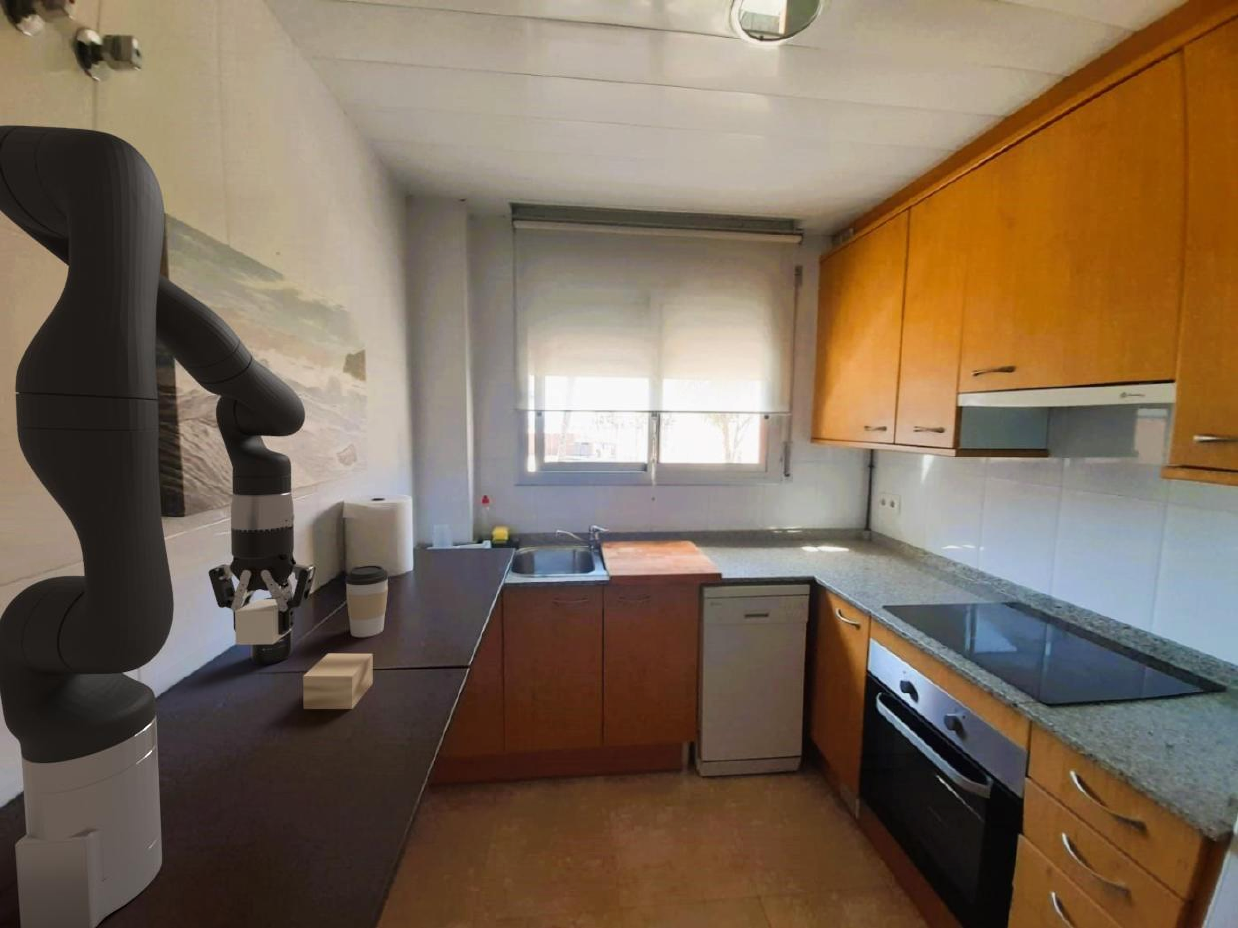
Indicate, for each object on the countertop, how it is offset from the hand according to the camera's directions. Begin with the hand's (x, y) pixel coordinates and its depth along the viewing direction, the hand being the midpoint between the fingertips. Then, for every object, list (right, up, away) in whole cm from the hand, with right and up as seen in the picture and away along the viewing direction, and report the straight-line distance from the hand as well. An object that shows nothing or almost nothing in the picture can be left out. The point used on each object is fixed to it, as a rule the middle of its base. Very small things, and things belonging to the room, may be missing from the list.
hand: (264, 632), depth 73 cm
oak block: (+4, -16, +13) cm, 21 cm away
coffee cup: (-5, -14, +39) cm, 42 cm away
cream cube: (0, -1, 0) cm, 1 cm away
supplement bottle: (-17, -14, +25) cm, 34 cm away
